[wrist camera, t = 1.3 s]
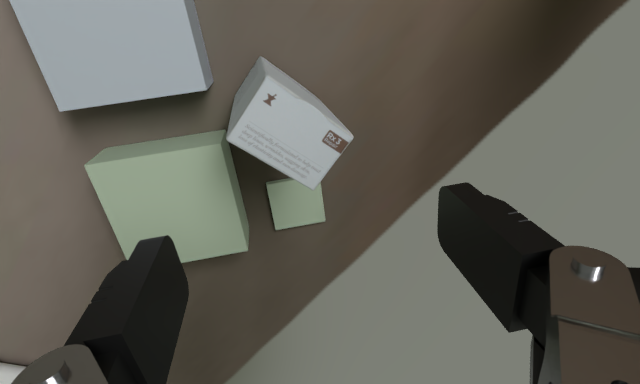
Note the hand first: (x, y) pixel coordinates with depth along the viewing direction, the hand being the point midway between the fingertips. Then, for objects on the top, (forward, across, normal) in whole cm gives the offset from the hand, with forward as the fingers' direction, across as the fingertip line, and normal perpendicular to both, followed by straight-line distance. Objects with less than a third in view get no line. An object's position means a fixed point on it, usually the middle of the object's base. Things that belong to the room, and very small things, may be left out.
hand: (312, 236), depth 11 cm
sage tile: (+22, 0, +10) cm, 24 cm away
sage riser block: (+22, +10, +7) cm, 25 cm away
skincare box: (+22, 0, 0) cm, 22 cm away
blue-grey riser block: (+22, +10, -7) cm, 25 cm away
